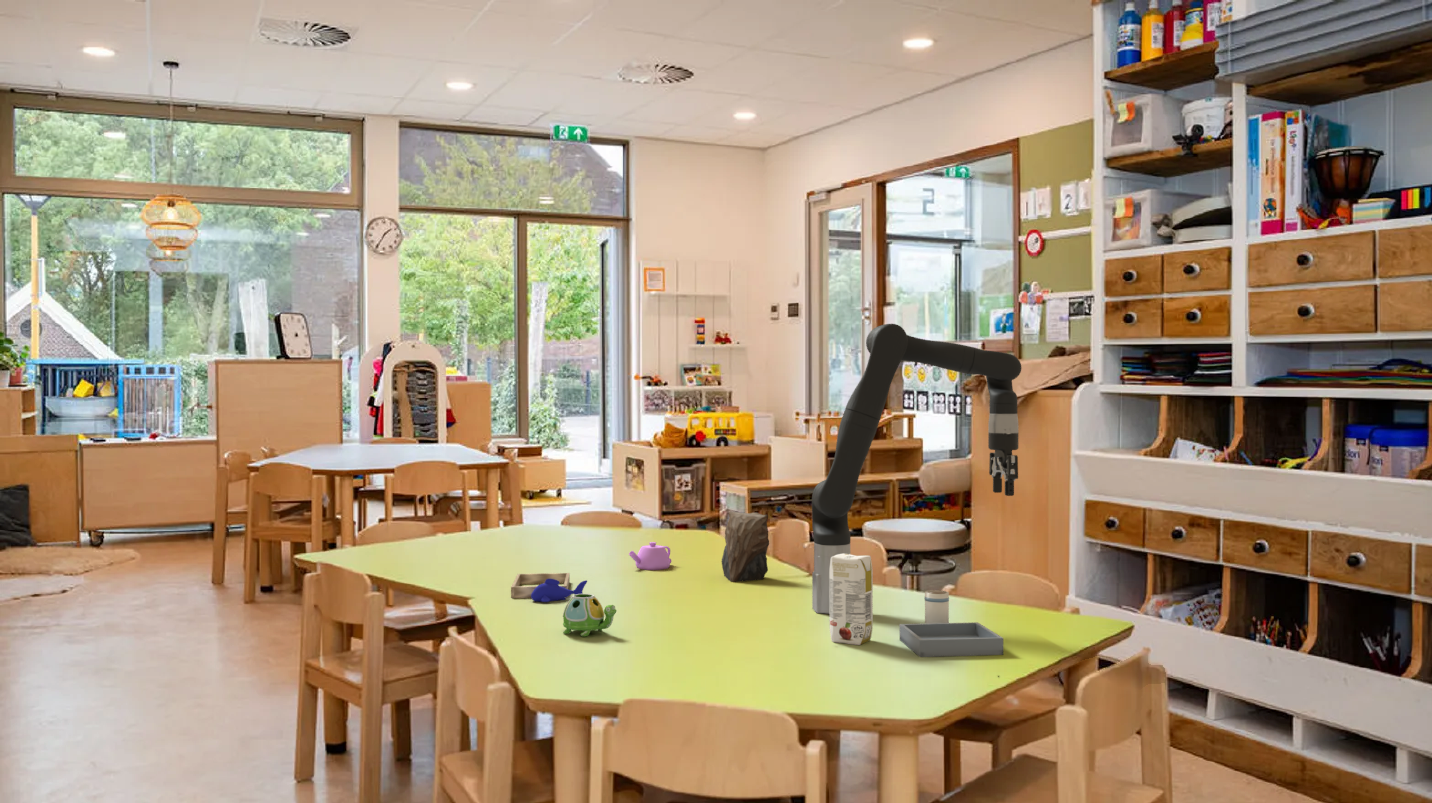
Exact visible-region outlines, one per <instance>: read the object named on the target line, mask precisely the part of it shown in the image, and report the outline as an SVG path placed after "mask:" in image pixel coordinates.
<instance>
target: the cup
mask: <svg viewBox="0 0 1432 803" xmlns="http://www.w3.org/2000/svg"><path fill="white" fill-rule="evenodd" d="M949 594H950V592H949V591H946V590H939V589H931V590H925V591H924V624H929V623H950V620H949V618H950V615H949V614H950V613H949V612H950V611H949V609H950V597H949V596H950V595H949Z"/></svg>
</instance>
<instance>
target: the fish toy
mask: <svg viewBox="0 0 1432 803" xmlns="http://www.w3.org/2000/svg"><path fill="white" fill-rule="evenodd" d="M587 583H588V579H586V580H583V581H581V582H580V583H579V584H578V585H576V588H575V589H574V590H572V589H569V588H568V589H566V588H564V587H561V586H562V585H560V584H561V583H560V582H559V581H557V580H555V579H546V581H545V583H544V584H539V585H537V587H536V588H535V589H534V591H533V592H532V594H531V600H532V601H533V602H537V603H538V602H539V603H549V602H554V601H555V602H556V601H564V600H567V597H569V596H572V595H576V594H584V593H583V591H584V588H585V587H586V584H587Z"/></svg>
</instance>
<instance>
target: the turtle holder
mask: <svg viewBox="0 0 1432 803" xmlns="http://www.w3.org/2000/svg"><path fill="white" fill-rule="evenodd" d="M616 613H617V609H616V606H615V605H614V604H608V605H605V606H604V609H603V606H602V603H601V602H600V600H599V599H598V598H597V597H596V595H594V594H591V593H590V594H589V593H583V594H576V595H575V594H572V595H571V598H570V599H569V600H568V602H566V604H565V607H564V609H563V613H562V617H563V618H562V620H563V623H562V625H563V627H564V628H565V629H564V630H563V631H562V634H565V635H566V634H567V635H569V634H571V632H572V631H582V632H581V633H580V634H579V635H580V636H581V637H589V635H590V633H591V631H595V630H596V631H599V632H600V631H603V630H606V629H607V630H608V628H610V627H611V625H612V623H613V621H614V616H615V614H616Z"/></svg>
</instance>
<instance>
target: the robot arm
mask: <svg viewBox="0 0 1432 803" xmlns="http://www.w3.org/2000/svg"><path fill="white" fill-rule="evenodd" d="M865 346H866V350H867V351H868V352H869V357H868V360H867V364H866V368H865V370H864V373H863V375H862V377H861V378H860V380H859V382H858V383H857V385H856V387H855V388H854V390H853V391H852V394H851V395H850V396H849V399H848V401H847V403H846V405H845V408H844V411H843V414H842V417H841V419H840V422H839V427H838V430H837V438H836V446H835V454H834V458H833V461H832V465H831V467H830V469H829V472H828V474H827V477H826V479H824V480H821V481H820V482H819V483H818V484H817V485H815V487H814V489H813V492H812V496H811V520H812V524H811V525H812V533H813V549H814V550H813V552H814V554H813V562H814V563H813V566H814V568H813V571H812V575H811V579H812V586H811V588H812V591H811V592H812V593H811V594H812V595H811V596H812V597H811V598H812V600H811V601H812V602H811V603H812V604H811V605H812V609H813V611H814V612H815V613H816V614H826V615H827V614H828V615H830V561H831V557H832V556H835V555H838V554H843V553H844V554H850V555H851V532H850V528H849V522H848V521H849V520H848V518H849V517H848V512H849V511H850V510H851V508H852V506H853V502H854V499H855V496H856V495H855V494H856V491H857V486H858V482H859V477H860V474H861V470H862V467H863V465H864V462H865V460H866V458H867V456H868V453H869V451H870V448H871V446H872V443H873V440H874V439H875V438H874V437H875V436H876V434H877V430H878V427H879V424H880V421H881V418H882V414H883V412H884V408H885V404H886V402H887V398H888V394H889V391H890V387H891V386H892V381H893V379H894V376H895V375H896V372H897V370H898V368H899V366H900V363H901V362H902V361H906V362H914V363H919V364H923V365H929V366H933V367H935V368H940V369H944V370H949V371H952V372H958V373H963V374H967V375H973V376H974V375H975V376H976V375H977V376H985V377H986V384H987V391H988V395H989V413H988V415H989V416H988V423H987V424H988V431H987V432H988V434H987V435H988V442H987V443H988V449H989V450H992V451H994V452H989V463H988V464H989V468H988V470H989V472H988V473H989V476H991V478H992V492H993V493H995V494H996V493H997V494H999V493H1000V494H1001V493H1002V492H1003V479H1004V496H1006V497H1007V496H1008V497H1013V496H1014V495H1015V481H1016V480H1018V479H1019V459H1018V458H1019V457H1018V454H1017V455H1016V454H1013V451H1016V450H1018V449H1019V418H1018V396H1017V393H1016V392H1015V391H1014V390H1013V389H1014V388H1013V381H1014V380H1015V379H1017V378H1018V377H1019V376H1020V374H1021V373H1022V363H1021V361H1020V359H1018V357H1016V355H1014V354H1011V353H1007V352H1001V351H994V350H986V349H985V350H984V349H981V348H978V347H974V346H969V345H965V344H960V343H954V342H947V341H946V342H945V341H939V340H929V339H925V338H924V339H923V338H920V337H919V338H918V337H914V336H912V335H908V334H907V333H906V331H905V328H903V327H902V326H901V325H899V324H896V323H885V324H884V323H883V324H881V325H878V326H876V327H874V328H873V329H872V330H870V332H869V333H868V335H867V336H866V340H865Z"/></svg>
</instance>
